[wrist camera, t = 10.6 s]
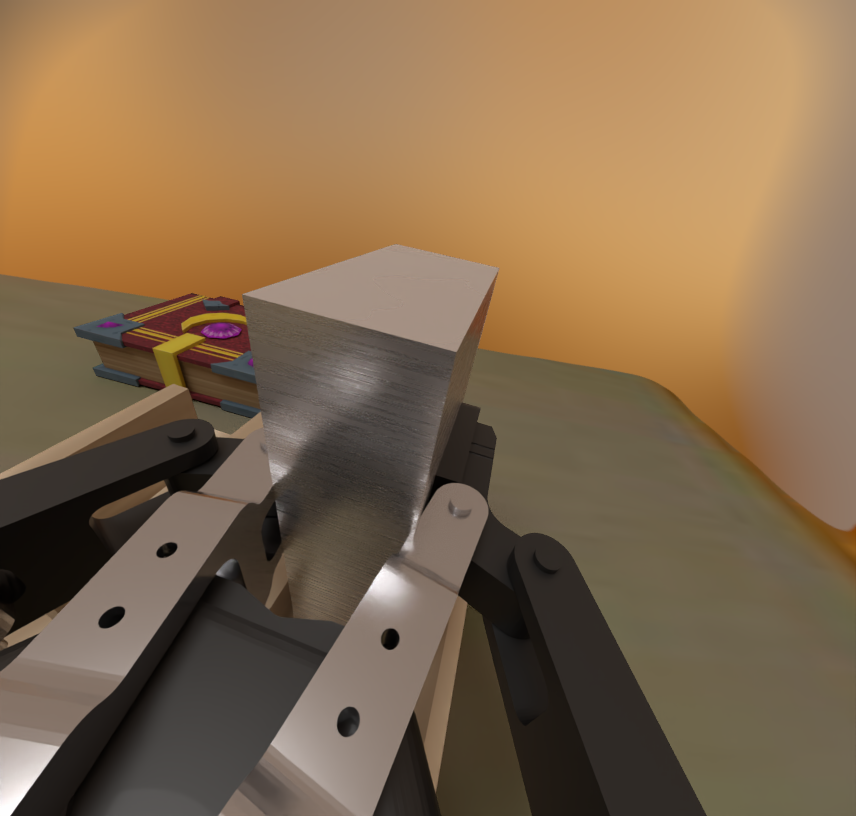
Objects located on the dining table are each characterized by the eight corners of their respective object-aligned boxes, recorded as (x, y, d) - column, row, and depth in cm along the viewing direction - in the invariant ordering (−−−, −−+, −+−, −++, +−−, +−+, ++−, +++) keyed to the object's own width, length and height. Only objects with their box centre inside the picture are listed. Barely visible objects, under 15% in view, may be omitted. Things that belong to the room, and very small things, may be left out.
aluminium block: (300, 656, 12) (241, 294, 4) (368, 522, 17) (395, 243, 9) (377, 689, 11) (456, 352, 4) (424, 542, 16) (499, 267, 9)
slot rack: (-99, 661, 12) (-270, 581, 9) (206, 436, 23) (184, 363, 20) (409, 921, 10) (450, 952, 6) (477, 528, 21) (505, 462, 18)
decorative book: (202, 331, 36) (191, 285, 33) (340, 366, 35) (341, 321, 32) (96, 379, 27) (68, 321, 24) (279, 430, 26) (272, 374, 23)
